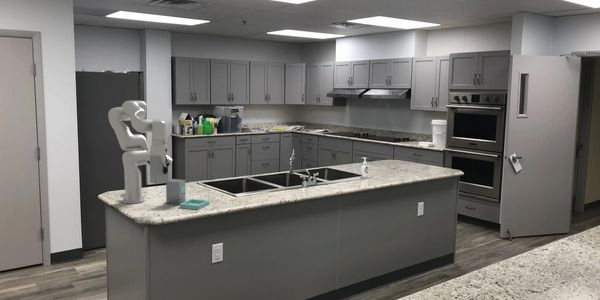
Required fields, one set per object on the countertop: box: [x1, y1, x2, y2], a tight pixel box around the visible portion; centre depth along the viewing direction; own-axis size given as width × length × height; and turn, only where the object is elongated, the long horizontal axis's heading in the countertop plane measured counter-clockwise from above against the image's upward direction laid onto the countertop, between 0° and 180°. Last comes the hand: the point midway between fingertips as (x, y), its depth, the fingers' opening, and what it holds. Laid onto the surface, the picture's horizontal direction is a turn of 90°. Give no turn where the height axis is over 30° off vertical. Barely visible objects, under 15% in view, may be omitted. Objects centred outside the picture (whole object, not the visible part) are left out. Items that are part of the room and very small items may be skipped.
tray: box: [179, 198, 210, 210], centre depth 291 cm, size 12×13×2 cm
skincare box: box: [149, 156, 169, 185], centre depth 275 cm, size 8×7×16 cm
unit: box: [163, 178, 186, 206], centre depth 296 cm, size 11×9×14 cm
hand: (159, 172), depth 276 cm, fingers closed on skincare box, 8 cm apart
